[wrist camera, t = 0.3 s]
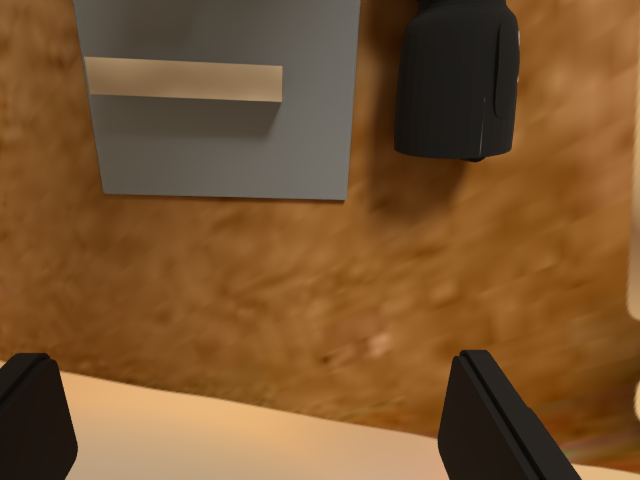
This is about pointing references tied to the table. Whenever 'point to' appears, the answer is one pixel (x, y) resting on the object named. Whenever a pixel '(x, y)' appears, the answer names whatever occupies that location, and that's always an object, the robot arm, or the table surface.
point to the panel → (227, 115)
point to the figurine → (458, 80)
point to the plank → (184, 79)
